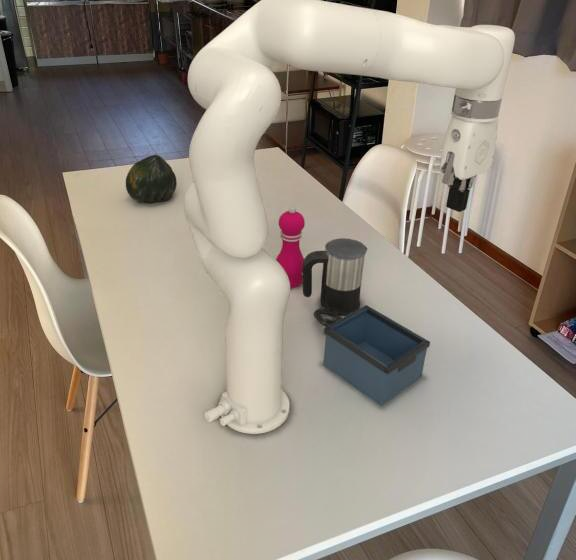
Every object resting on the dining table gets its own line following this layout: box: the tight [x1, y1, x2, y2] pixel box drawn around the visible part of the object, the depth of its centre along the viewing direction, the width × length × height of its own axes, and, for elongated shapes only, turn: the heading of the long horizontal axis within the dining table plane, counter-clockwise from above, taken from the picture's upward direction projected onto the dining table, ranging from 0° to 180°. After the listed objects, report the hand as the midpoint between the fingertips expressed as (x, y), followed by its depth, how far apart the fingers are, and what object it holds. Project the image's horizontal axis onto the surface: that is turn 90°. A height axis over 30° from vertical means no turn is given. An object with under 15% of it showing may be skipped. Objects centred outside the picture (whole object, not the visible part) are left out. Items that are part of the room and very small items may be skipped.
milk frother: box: [302, 237, 368, 328], centre depth 126 cm, size 14×16×15 cm
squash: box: [125, 154, 178, 203], centre depth 177 cm, size 14×15×15 cm
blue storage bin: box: [322, 304, 431, 406], centre depth 111 cm, size 9×16×12 cm
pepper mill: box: [275, 205, 306, 289], centre depth 136 cm, size 7×7×20 cm
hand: (455, 208), depth 105 cm, fingers closed
